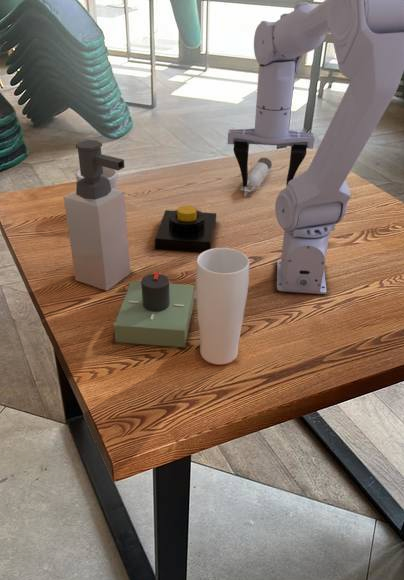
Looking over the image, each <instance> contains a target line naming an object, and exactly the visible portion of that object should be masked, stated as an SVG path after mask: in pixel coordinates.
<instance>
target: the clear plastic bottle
mask: <svg viewBox="0 0 404 580" xmlns="http://www.w3.org/2000/svg"><path fill="white" fill-rule="evenodd" d="M272 166H273V161H272V159H271V158H269V157H268V156H267V157H265V156H263V157H260V158H259V159H258V161H257V162H256V163H255V164H254V165H253V162H250V170H248V181H247V187H243V180H242V182H239V185H241V188H240V191H243V192H244V195H243V196H244V197H246V196H247V195H248V194H249V193H251V194H252V193H254V192H256V191H257V190H258V189H259V188H261V184H262V183H263V181H264V180H265V179H266V177H267V176H268V175H269V173H270V172H271V170H272V168H273V167H272Z"/></svg>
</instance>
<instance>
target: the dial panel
mask: <svg viewBox="0 0 404 580" xmlns="http://www.w3.org/2000/svg"><path fill="white" fill-rule="evenodd" d="M169 294H170V305H169V307H168V308H166V309H165V310H162V311H149V310H147V309H145V308H144V307H143V302H142V285H141V281H138V280H131V281H130V283H129V285H128V288H127V291H126V292H125V296H124V298H123V301H122V304H121V306H120V308H119V311H118V314H117V316H116V318H115V321H114V324H113V329H114V338H115V343H124V344H135V345H137V344H138V345H149V346H162V347H173V348H174V347H175V348H185V347H186V343H187V338H188V332H189V329H190V323H191V320H192V319H191V318H192V314H193V310H194V304H195V285H194V284H181V283H169Z"/></svg>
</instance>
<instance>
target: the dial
mask: <svg viewBox="0 0 404 580" xmlns="http://www.w3.org/2000/svg"><path fill="white" fill-rule="evenodd" d="M140 282H141V285H142V302H143V307H144V308H145V309H147V310H149V311H162V310H165V309H166V308H168V307H169V305H170V294H169V284H170V278H169V277H168V276H167V275H165V274H163V273H160V271H155V272H154V273H149V274H147V275H145V276H143V277H142V278H141V281H140Z"/></svg>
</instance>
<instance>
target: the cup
mask: <svg viewBox="0 0 404 580" xmlns="http://www.w3.org/2000/svg"><path fill="white" fill-rule="evenodd" d="M118 173H119V172H118V170H114V169H110V168H107V167H103V174H102V175H101V176H103V177H105V178H107V179H109V182H110V186H111V188H113V189H117V190H118V181H119V180H118V175H119V174H118ZM82 178H84V177H83V176H81V172H80V169H78V170H77V171H76V173H75V179H76V183H77V182H78V181H79V180H81V179H82Z"/></svg>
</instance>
